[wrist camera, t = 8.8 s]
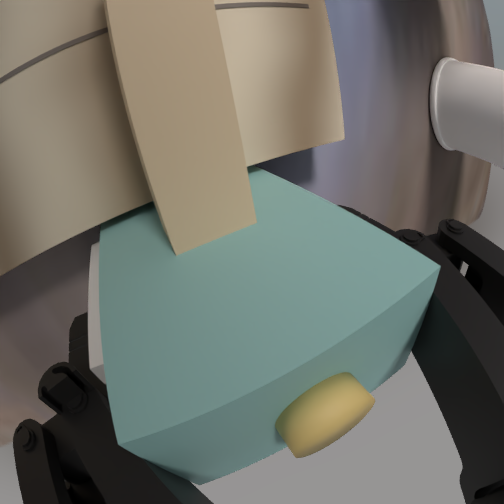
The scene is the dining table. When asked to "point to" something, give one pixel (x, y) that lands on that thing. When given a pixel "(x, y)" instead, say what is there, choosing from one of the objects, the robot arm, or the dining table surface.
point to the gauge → (234, 274)
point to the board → (115, 116)
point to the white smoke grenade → (469, 109)
